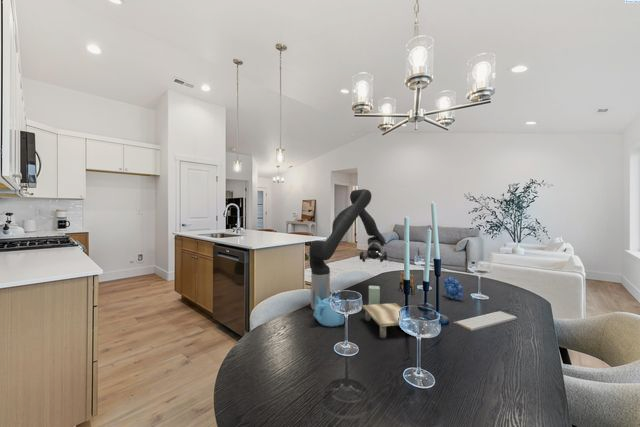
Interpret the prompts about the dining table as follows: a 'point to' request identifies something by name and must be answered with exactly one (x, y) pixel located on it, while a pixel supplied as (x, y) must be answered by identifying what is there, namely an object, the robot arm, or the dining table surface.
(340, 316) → the teapot
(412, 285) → the ammunition clip
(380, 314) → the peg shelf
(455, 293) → the grapes
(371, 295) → the sage post
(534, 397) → the dining table surface
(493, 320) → the baseboard
